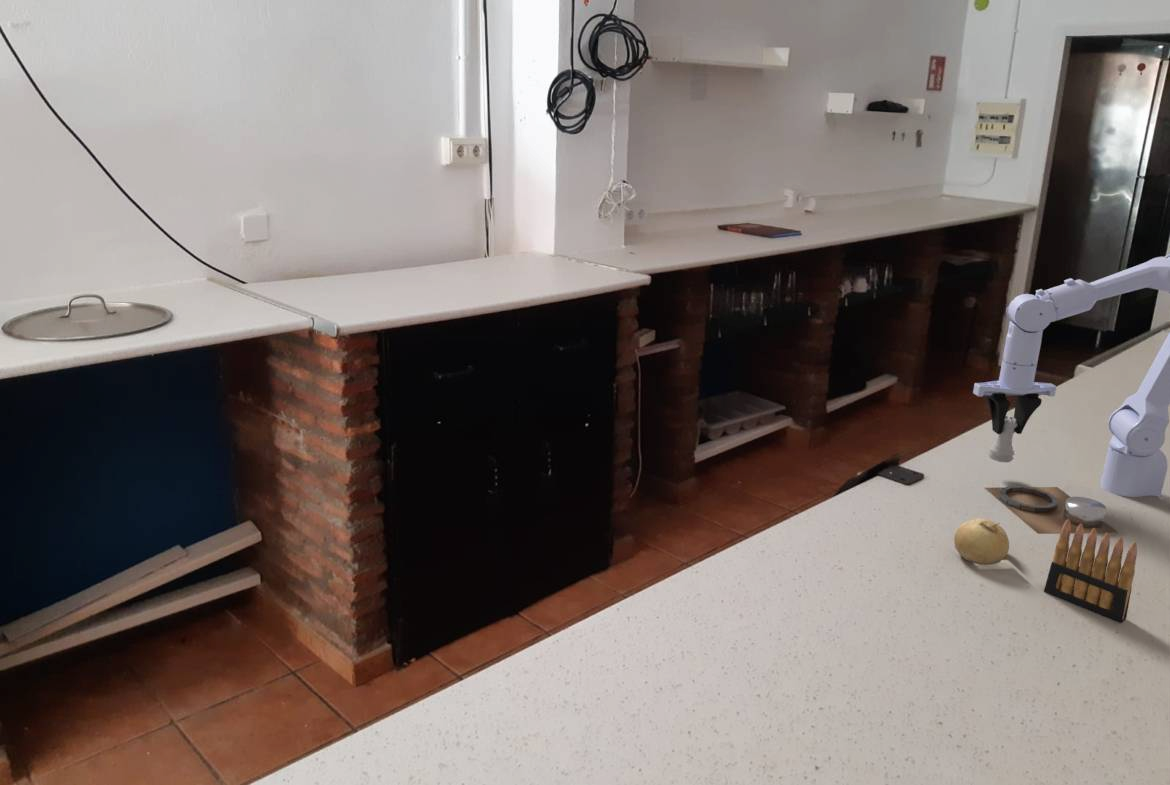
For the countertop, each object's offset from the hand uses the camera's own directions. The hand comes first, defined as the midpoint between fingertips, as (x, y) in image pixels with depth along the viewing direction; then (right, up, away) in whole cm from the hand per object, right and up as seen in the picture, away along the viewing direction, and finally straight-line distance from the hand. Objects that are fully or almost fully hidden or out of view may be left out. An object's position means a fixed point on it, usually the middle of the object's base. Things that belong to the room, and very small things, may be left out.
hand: (1006, 432), depth 169 cm
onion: (-16, -19, -25) cm, 35 cm away
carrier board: (+3, -14, -9) cm, 17 cm away
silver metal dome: (+7, -14, -14) cm, 21 cm away
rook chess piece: (0, -5, +2) cm, 6 cm away
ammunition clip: (-6, -23, -38) cm, 45 cm away
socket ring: (+1, -12, -7) cm, 14 cm away
